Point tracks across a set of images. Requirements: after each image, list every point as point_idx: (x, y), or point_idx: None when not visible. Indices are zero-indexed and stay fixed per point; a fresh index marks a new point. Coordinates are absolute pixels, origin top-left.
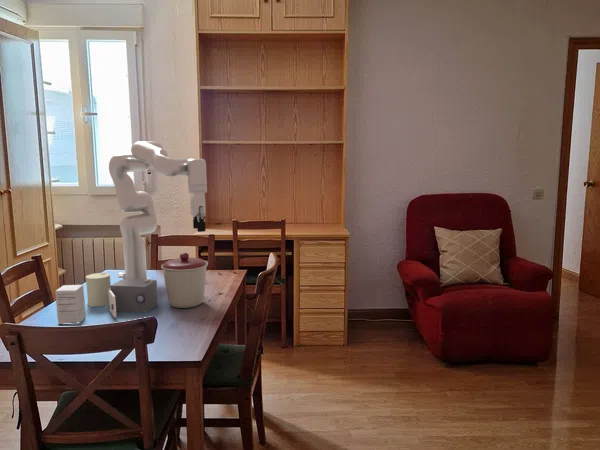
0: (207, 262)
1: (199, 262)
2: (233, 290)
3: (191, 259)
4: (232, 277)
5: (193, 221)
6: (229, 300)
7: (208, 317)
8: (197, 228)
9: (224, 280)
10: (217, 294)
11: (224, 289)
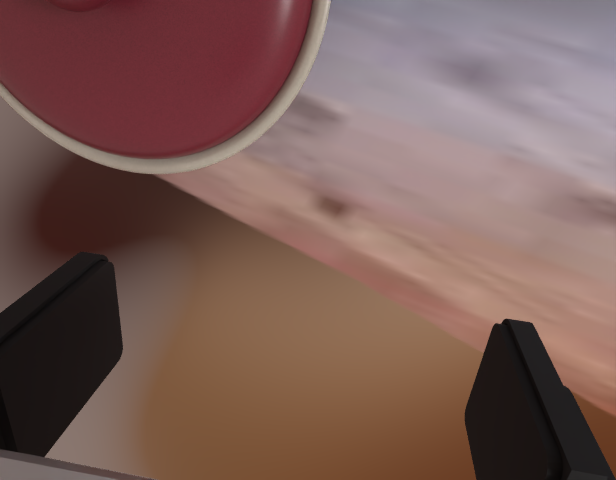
0: (131, 171)
1: (17, 82)
2: (353, 273)
3: (108, 39)
4: (581, 357)
5: (546, 422)
6: (212, 201)
7: None
8: (60, 276)
9: (555, 307)
10: (328, 189)
11: (393, 247)
